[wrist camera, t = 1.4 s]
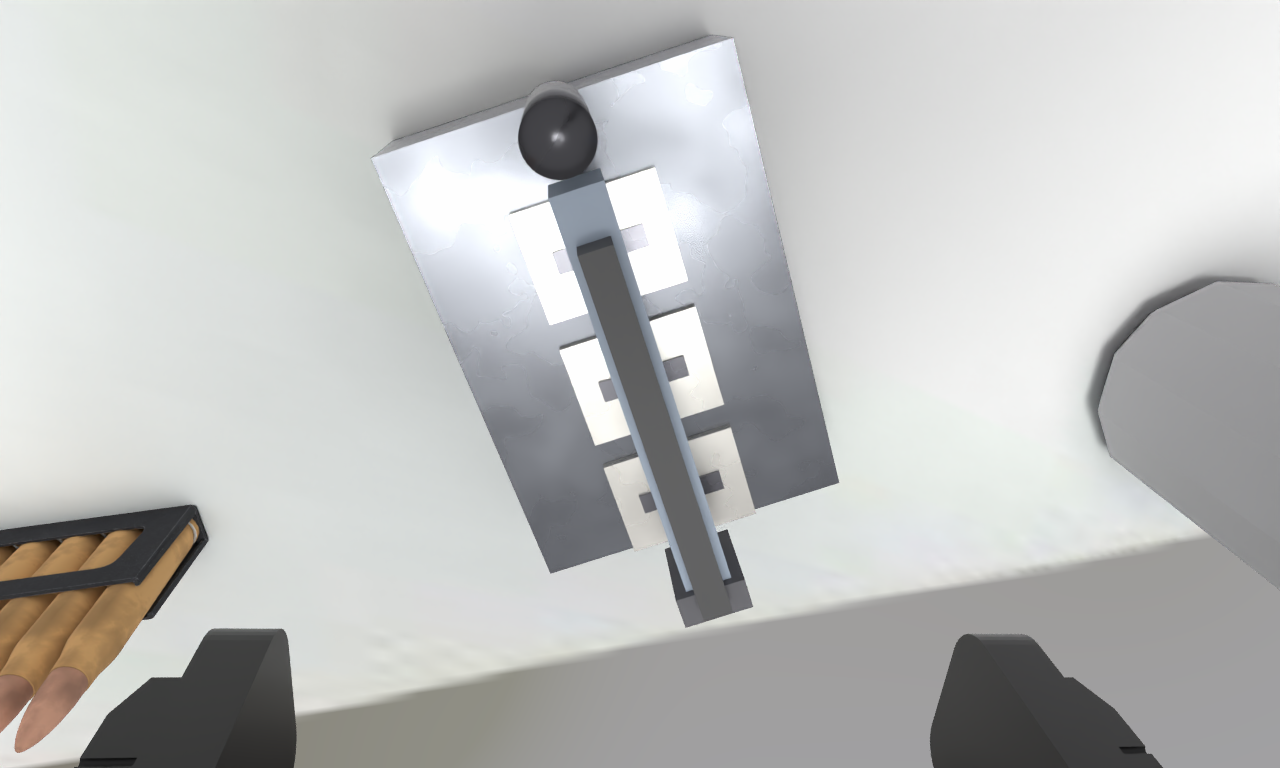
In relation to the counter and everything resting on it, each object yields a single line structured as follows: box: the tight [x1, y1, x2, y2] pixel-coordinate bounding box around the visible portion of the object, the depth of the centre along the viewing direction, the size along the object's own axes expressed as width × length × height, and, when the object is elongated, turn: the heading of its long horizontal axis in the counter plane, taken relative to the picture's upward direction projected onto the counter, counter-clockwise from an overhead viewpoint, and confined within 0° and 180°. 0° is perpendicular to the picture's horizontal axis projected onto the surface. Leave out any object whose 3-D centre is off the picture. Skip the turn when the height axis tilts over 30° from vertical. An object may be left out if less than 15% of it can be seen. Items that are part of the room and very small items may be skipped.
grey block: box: [371, 35, 839, 573], centre depth 29 cm, size 12×18×10 cm
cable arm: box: [548, 168, 753, 627], centre depth 27 cm, size 2×15×4 cm, turn 17°
